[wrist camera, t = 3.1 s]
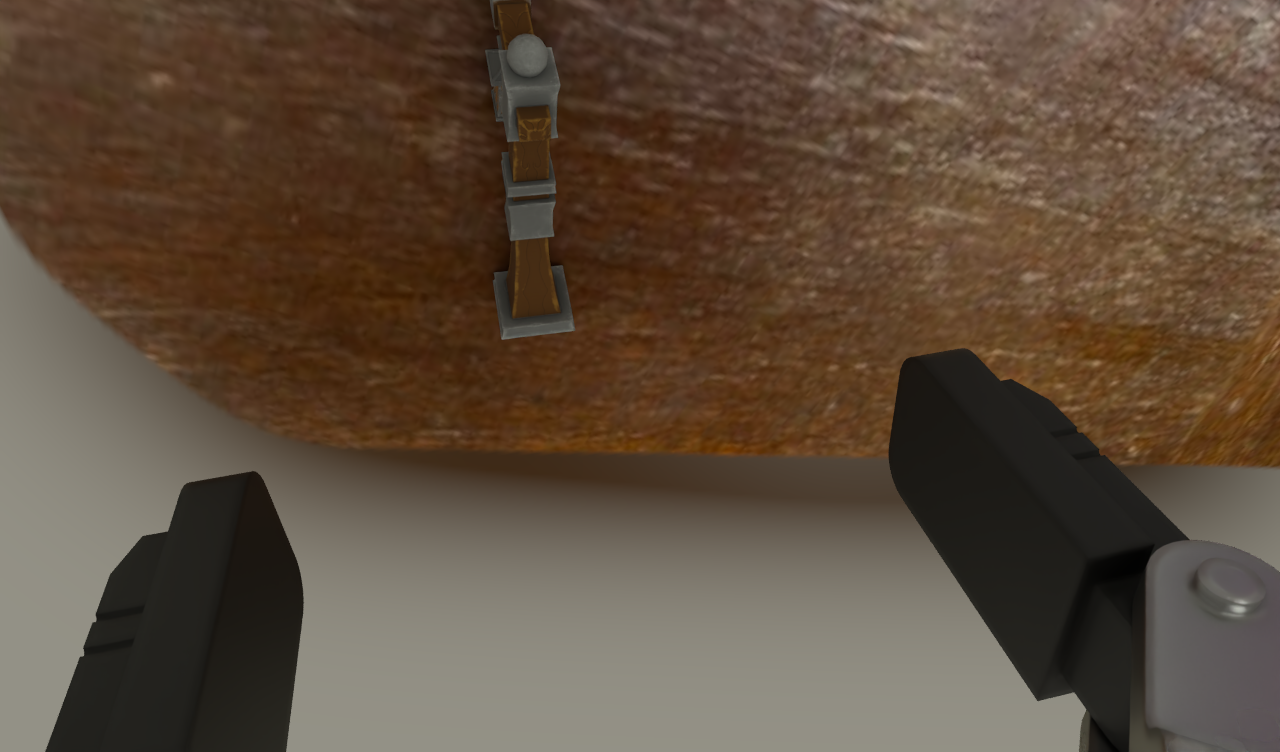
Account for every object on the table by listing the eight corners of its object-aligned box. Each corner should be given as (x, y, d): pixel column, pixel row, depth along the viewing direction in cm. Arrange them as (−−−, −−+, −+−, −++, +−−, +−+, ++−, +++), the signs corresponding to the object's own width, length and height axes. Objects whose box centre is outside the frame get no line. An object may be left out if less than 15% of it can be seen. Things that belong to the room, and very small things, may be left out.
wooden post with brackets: (548, -91, 17) (588, 68, 14) (549, 199, 24) (576, 337, 21) (452, -87, 16) (477, 75, 14) (481, 205, 23) (502, 346, 21)
